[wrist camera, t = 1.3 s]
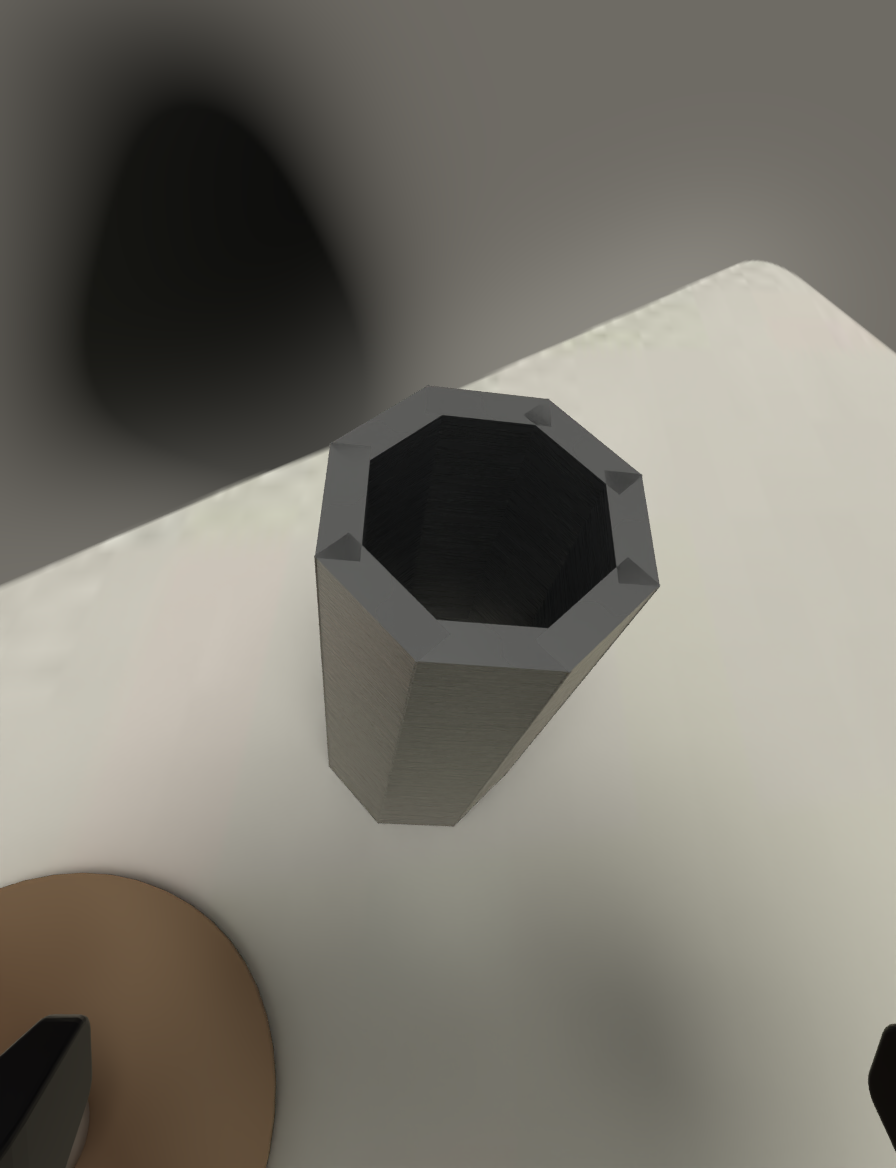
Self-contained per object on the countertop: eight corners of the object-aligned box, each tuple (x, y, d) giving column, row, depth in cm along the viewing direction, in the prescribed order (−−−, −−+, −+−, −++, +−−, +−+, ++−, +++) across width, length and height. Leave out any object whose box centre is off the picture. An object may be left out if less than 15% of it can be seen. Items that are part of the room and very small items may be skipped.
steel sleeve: (505, 829, 21) (674, 679, 10) (323, 821, 20) (301, 654, 10) (501, 661, 24) (631, 408, 13) (341, 650, 23) (338, 375, 12)
